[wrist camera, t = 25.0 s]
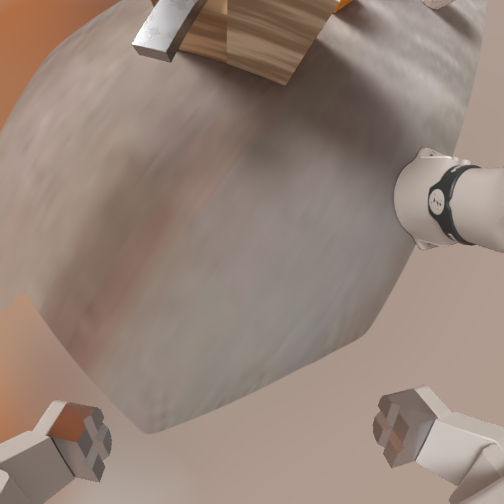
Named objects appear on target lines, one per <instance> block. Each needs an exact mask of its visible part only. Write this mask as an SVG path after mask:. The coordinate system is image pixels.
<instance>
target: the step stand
mask: <svg viewBox="0 0 504 504" xmlns="http://www.w3.org/2000/svg"><path fill="white" fill-rule="evenodd" d="M151 1H152V4H153V6H154V7H155V6H156V4H157V3H158V1H159V0H151ZM340 1H341V0H208V1H207V2H206V4H205V5H204V7H203V8H202V10H201V11H200V13H199V15H198V16H197V18H196V20H195V21H194V23H193V24H192V26H191V28H190V29H189V31H188V33H187V35H186V36H185V38H184V40H183V42H182V43H181V45H180V47H179V50H182V51H186V52H190V53H193V54H197V55H200V56H203V57H207V58H210V59H213V60H216V61H219V62H222V63H225V64H228V65H231V66H234V67H237V68H240V69H242V70H245V71H248V72H251V73H253V74H256V75H258V76H261V77H264V78H266V79H269V80H271V81H273V82H276V83H278V84H281V85H283V86H286V84H287V83H288V81H289V79H290V78H291V76H292V75H293V73H294V71H295V70H296V68H297V67H298V65H299V63H300V62H301V60H302V59H303V57H304V56H305V54H306V52H307V51H308V49H309V48H310V46H311V45H312V43H313V41H314V40H315V38H316V37H317V35H318V34H319V32H320V31H321V29H322V28H323V26H324V25H325V23H326V22H327V20H328V19H329V17H330V16H331V14H332V13H333V11H334V10H335V8H336V7H337V5H338V4H339V3H340Z"/></svg>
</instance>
